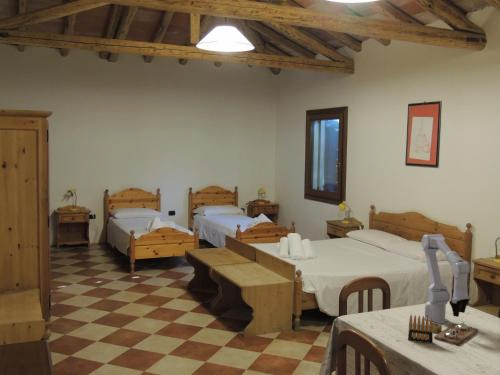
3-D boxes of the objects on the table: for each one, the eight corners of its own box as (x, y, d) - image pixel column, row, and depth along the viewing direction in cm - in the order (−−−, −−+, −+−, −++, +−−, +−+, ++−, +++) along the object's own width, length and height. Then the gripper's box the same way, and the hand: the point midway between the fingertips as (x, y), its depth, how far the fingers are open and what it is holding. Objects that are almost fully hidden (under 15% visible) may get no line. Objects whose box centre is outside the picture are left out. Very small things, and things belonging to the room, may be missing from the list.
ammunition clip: (432, 341, 231) (433, 316, 230) (432, 343, 230) (433, 317, 229) (408, 338, 235) (409, 313, 234) (407, 340, 233) (408, 315, 232)
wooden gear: (426, 330, 245) (427, 324, 245) (431, 327, 249) (432, 321, 249) (438, 334, 241) (439, 327, 241) (443, 330, 245) (443, 324, 244)
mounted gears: (442, 336, 234) (442, 329, 234) (459, 325, 249) (459, 319, 248) (453, 340, 231) (454, 333, 230) (470, 328, 245) (470, 322, 244)
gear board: (434, 338, 235) (434, 336, 235) (455, 325, 252) (455, 323, 252) (457, 345, 227) (458, 342, 227) (477, 331, 244) (478, 328, 244)
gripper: (463, 291, 233) (461, 320, 234) (474, 285, 243) (473, 312, 245) (447, 288, 238) (446, 316, 239) (459, 282, 248) (458, 309, 250)
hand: (459, 314), depth 242 cm, fingers open, 7 cm apart
